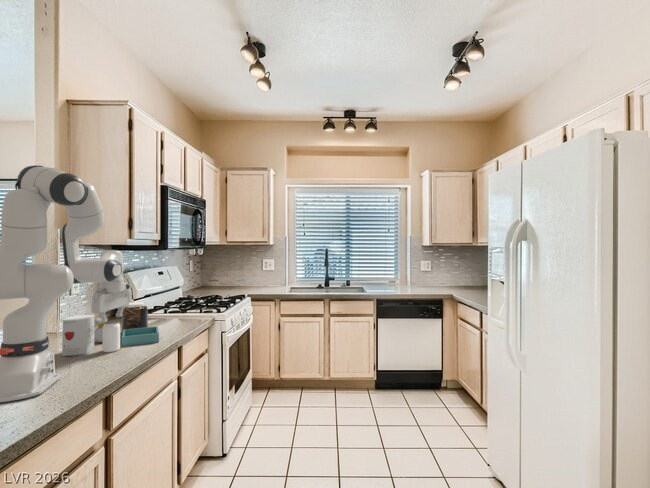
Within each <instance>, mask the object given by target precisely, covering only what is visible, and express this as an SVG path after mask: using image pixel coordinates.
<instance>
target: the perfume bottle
mask: <svg viewBox="0 0 650 488" xmlns="http://www.w3.org/2000/svg"><path fill="white" fill-rule="evenodd" d="M104 323H105V322H101V318H100V317H96V318H95V320H94V327H97V328H95V329H94V342H96V343H99V344H100V343H103V325H104Z"/></svg>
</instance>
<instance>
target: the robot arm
mask: <svg viewBox="0 0 650 488" xmlns="http://www.w3.org/2000/svg"><path fill="white" fill-rule="evenodd" d="M14 187H15V189H12V190H10V191H8V192H6V194H5V195H4V198H3V202H2V207H1V216H0V217H1V218H0V220H1V221H0V222H1V223H0V224H1V225H0V226H1V227H0V228H1V229H0V231H1V235H0V301H1V300H11V299H28V302H27V303H26V304H25V305H24V306H21V307H19V308H17V309H15V310H13V311H11V312H9V313H8V314H6V316H5V317H4V318H3V320H2V342H1V343H0V403H6V402H13V401H18V400H23V399H28V398H32V397H35V396H39V395H41V394H42V393H43V392H45V391H46V390H47V389H49V388H50V387H51V386H53V384H55V383H56V382H57V381H58V380H60V379H61V378H62V374H61V373H56V366H55V363H56V362H55V354H54V353H53V352H52V351H50V349H49V344H50V340H49V336H48V320H49V315H50V311H51V309H52V307H53V305H54V304H55V303H56V302H57V301H58V299H59V298H60V297H62V296H63V295H64V294H66V293H68V292H69V291H70V289H71V288H72V287H73V285H75V284H85V283H99V289H97V290H96V291H95V292H94V294H93V296H92V299H91V300H92V301H91V310H90V311H91V313H93V314H98V316H99V318H101V322H108V317H107V316H106V314H107V312H108V311H111V310H116V309H117V311H116V313H115V318H122V312H123V309H124V308H125V307H126V305H129V303H131V288H132V285H131V284H130V283H128V282H125V281H124V279H125V278H124V276H123V275H124V271H125V270H124V269H125V266H124V255H123V253H122V251H120V250H118V249H103V250H102V251H101V254H100V257H99V258H84V257H82V256H81V255H80V243H79V242H80V239H83V238H85V237H89V236H91V235H94V234H95V233H97V232H99V230H101V229H102V228H103V226H104V224H105V219H106V218H105V213H104V209H103V206H102V205H103V204H102V202H101V199H100V197H99V195H98V192H97V190H96V188H95V186H93V184H91V183H89V182H87V181H83V180H82V179H81V178H80V177H78V176H77V175H75V174H72V173H70V172H65V171H62V170H60V169H58V168H54V167H50V166H49V167H48V166H43V165H35V164H34V165H29V166H25V167H24V168H23V169H21V170H20V171H19V173H18V176H17V179H16V183H15V185H14ZM51 204H57V205H60V206H65V211H66V215H67V222H66V223H65V224H64V225H63V227H62V230H61V240H62V241H61V242H62V250H63V251H62V252H63V263H64V264H63V265H62V264H55V263H30V264H29V263H27V264H26V263H23V262H24V261H25V260H26V259H29V258H31V257H33V256H36V255H39V254H40V253H42V252H43V251H44V250H45V249H46V248H47V246H48V217H47V216H48V215H47V213H48V210H49V207H50V206H51Z"/></svg>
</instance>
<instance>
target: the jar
mask: <svg viewBox="0 0 650 488" xmlns="http://www.w3.org/2000/svg"><path fill="white" fill-rule="evenodd" d="M148 309H149V308H148V306H147V305H145V302H143V301H135V302H130V303H129V305H126V306H124V309H123V312H122V316H121V334H123V330H125V329H135V328H146V327H148V325H149V321H148V320H149V317H148V316H149V314H148V313H149V312H148Z"/></svg>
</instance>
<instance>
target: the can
mask: <svg viewBox="0 0 650 488" xmlns="http://www.w3.org/2000/svg"><path fill="white" fill-rule="evenodd" d="M120 349H121V324H120V321H119V320H118V321H117V320H113V321H112V320H111V321H107V322H105V323H104V325H103V342H102V352H104V353H114V352H118V351H119V350H120Z"/></svg>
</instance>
